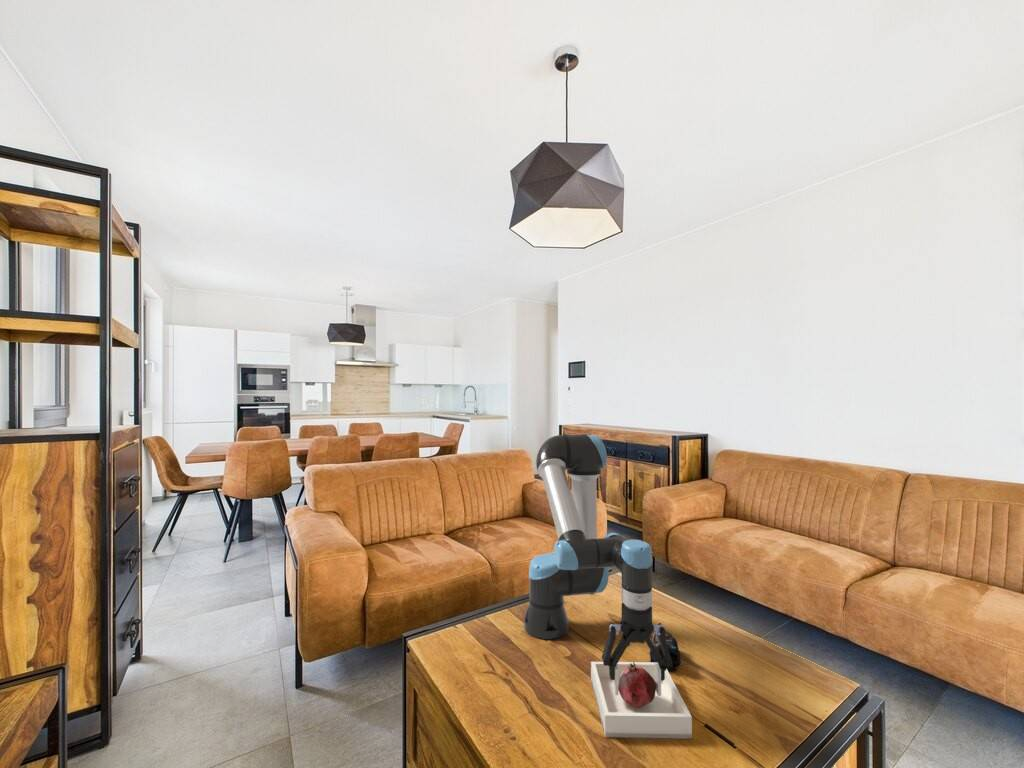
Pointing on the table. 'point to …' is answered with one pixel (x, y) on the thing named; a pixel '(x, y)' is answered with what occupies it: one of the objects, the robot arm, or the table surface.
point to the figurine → (672, 649)
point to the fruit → (636, 686)
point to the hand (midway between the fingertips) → (636, 691)
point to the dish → (648, 721)
